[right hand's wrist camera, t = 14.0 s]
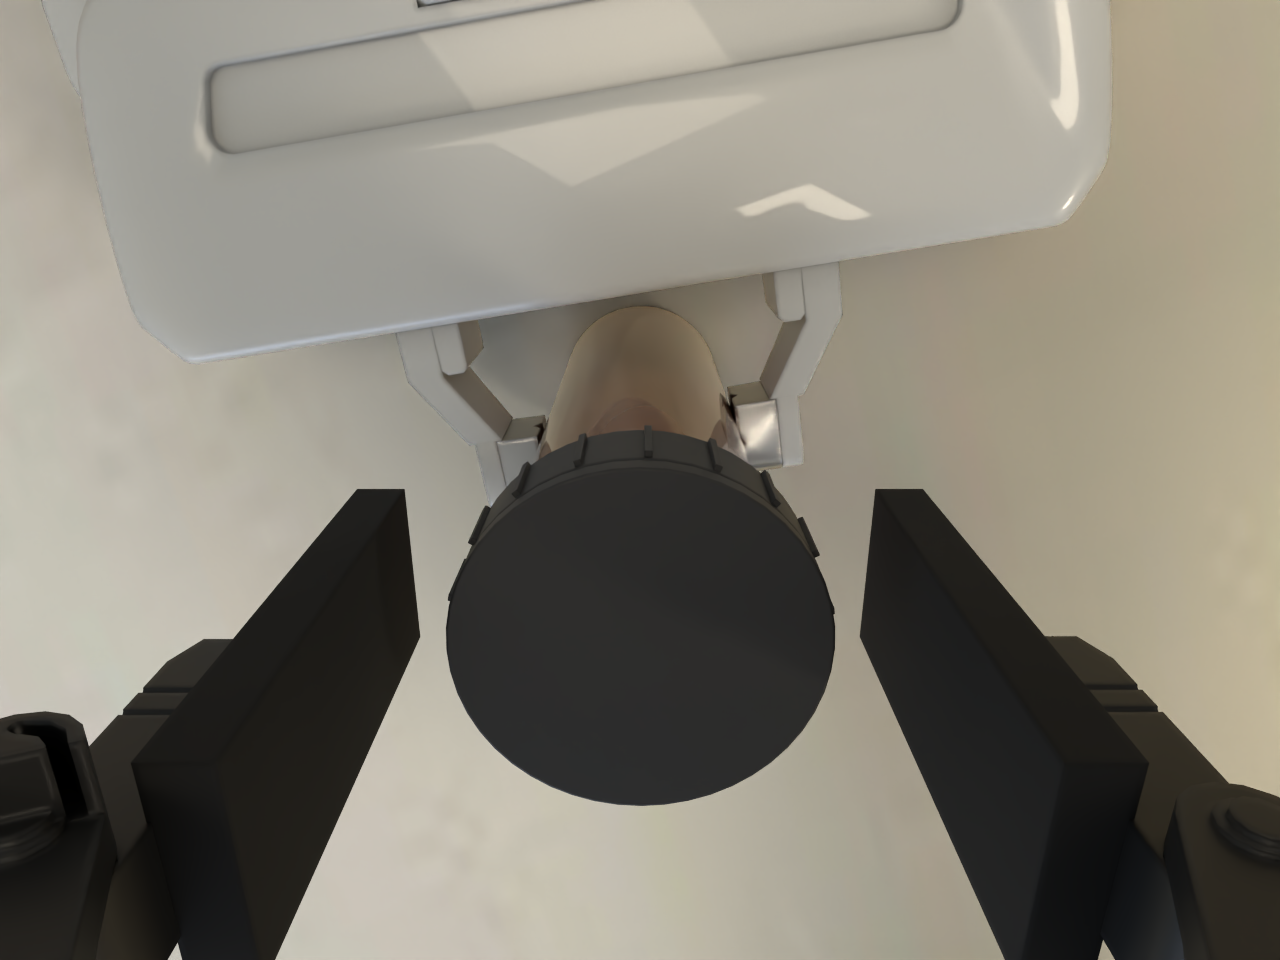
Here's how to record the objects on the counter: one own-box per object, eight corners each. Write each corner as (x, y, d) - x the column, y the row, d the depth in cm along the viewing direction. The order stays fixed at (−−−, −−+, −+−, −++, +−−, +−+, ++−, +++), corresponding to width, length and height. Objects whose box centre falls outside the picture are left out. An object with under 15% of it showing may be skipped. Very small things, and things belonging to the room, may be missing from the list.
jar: (655, 274, 25) (671, 420, 11) (745, 393, 27) (860, 659, 13) (536, 367, 26) (415, 608, 12) (628, 478, 28) (614, 812, 14)
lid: (673, 347, 12) (678, 377, 11) (883, 621, 14) (916, 683, 12) (391, 562, 14) (357, 617, 12) (613, 791, 15) (610, 867, 13)
